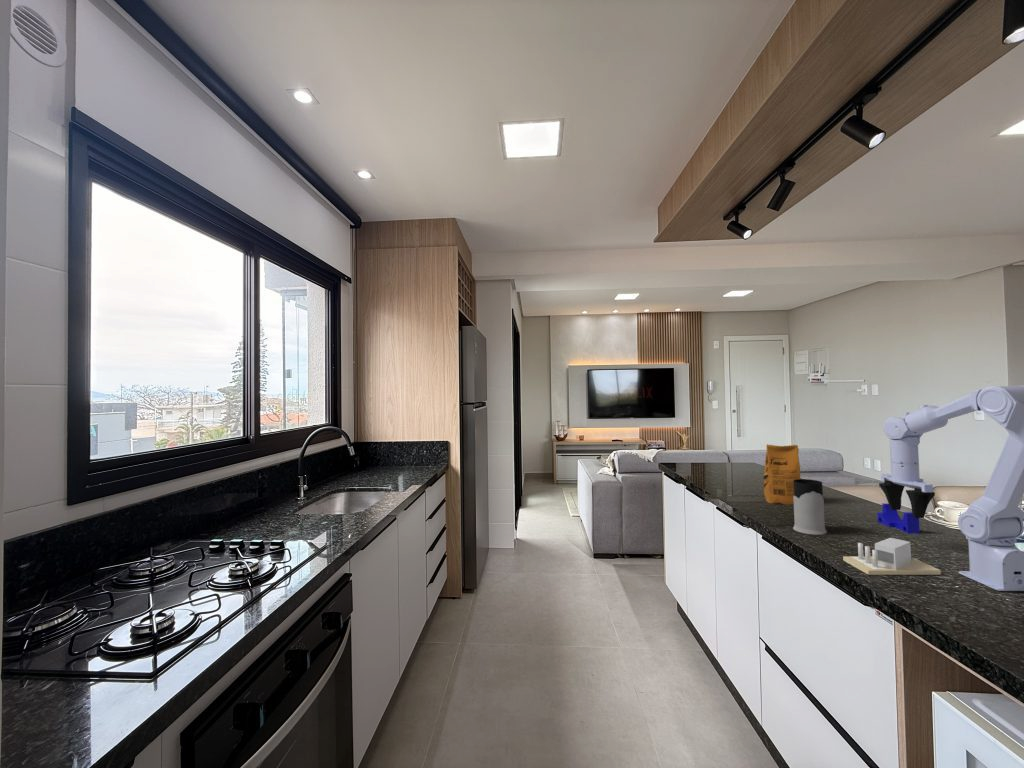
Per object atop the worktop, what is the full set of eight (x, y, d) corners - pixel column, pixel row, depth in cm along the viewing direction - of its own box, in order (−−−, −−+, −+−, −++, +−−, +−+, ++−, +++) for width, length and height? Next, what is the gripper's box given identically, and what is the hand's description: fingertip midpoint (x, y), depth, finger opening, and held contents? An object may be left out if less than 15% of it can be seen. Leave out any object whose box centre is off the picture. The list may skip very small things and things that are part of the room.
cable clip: (877, 522, 146) (876, 503, 146) (893, 522, 145) (892, 503, 145) (902, 533, 134) (901, 513, 134) (919, 534, 133) (918, 513, 133)
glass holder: (799, 534, 136) (797, 484, 136) (782, 520, 150) (780, 475, 150) (832, 535, 134) (830, 484, 134) (812, 521, 148) (810, 475, 148)
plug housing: (922, 557, 113) (921, 537, 113) (895, 569, 106) (894, 548, 106) (902, 552, 116) (901, 533, 116) (875, 564, 109) (874, 543, 110)
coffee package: (763, 497, 180) (760, 442, 181) (799, 500, 175) (797, 443, 176) (765, 503, 171) (762, 445, 172) (803, 506, 166) (801, 446, 166)
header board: (941, 574, 105) (940, 553, 105) (868, 574, 106) (867, 553, 106) (909, 560, 114) (909, 540, 114) (843, 560, 115) (842, 540, 115)
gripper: (944, 466, 112) (947, 521, 112) (898, 457, 127) (900, 506, 127) (915, 467, 113) (917, 521, 113) (872, 458, 127) (874, 506, 127)
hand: (906, 513), depth 120 cm, fingers open, 7 cm apart
